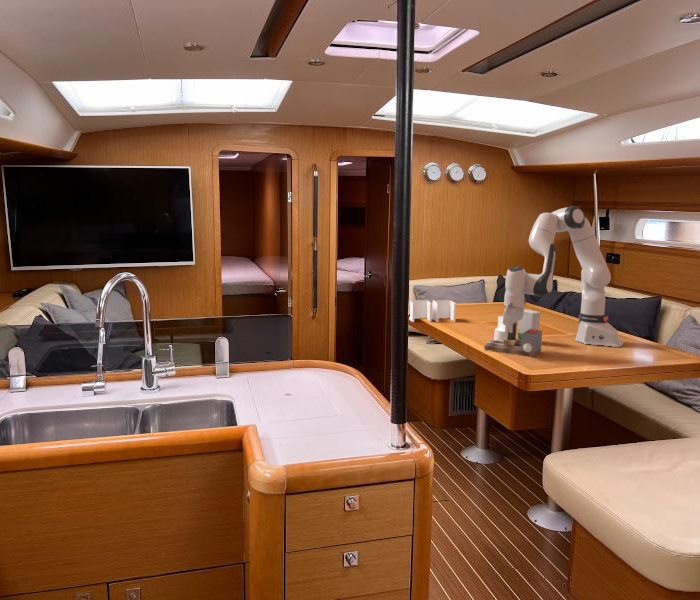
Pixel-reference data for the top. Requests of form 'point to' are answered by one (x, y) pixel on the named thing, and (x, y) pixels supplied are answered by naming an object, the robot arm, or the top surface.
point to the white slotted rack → (432, 309)
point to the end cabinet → (531, 341)
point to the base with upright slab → (501, 330)
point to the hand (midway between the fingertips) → (512, 331)
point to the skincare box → (528, 322)
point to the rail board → (507, 348)
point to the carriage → (511, 337)
